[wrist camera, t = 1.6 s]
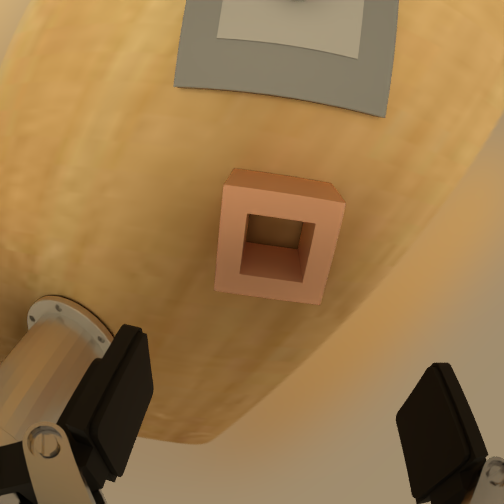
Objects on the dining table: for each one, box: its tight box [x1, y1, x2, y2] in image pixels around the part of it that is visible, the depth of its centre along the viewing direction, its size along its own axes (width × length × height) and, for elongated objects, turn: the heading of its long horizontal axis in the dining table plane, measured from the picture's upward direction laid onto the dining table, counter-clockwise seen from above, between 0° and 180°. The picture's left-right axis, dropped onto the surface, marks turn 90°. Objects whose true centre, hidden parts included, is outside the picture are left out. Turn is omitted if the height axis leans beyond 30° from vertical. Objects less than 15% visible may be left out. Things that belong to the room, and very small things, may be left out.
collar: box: [214, 168, 346, 305], centre depth 21 cm, size 7×7×5 cm
